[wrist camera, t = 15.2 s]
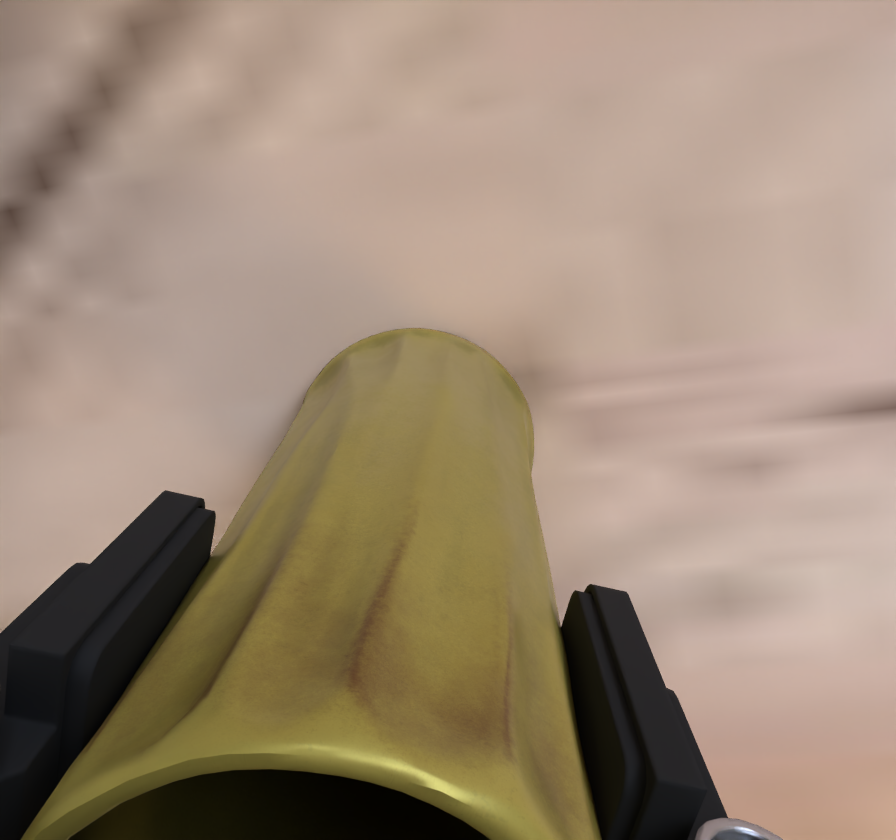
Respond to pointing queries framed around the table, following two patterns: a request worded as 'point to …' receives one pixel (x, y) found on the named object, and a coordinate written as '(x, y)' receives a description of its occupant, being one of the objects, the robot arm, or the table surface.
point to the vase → (359, 636)
